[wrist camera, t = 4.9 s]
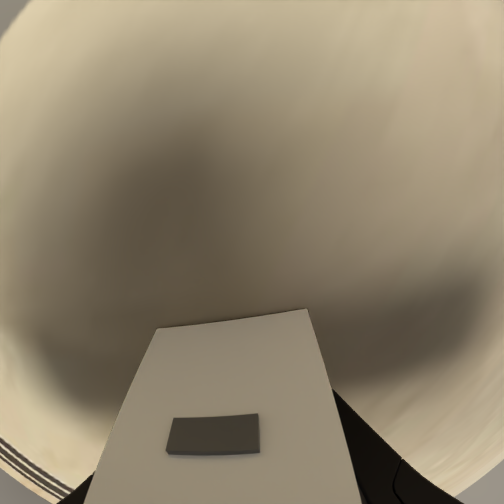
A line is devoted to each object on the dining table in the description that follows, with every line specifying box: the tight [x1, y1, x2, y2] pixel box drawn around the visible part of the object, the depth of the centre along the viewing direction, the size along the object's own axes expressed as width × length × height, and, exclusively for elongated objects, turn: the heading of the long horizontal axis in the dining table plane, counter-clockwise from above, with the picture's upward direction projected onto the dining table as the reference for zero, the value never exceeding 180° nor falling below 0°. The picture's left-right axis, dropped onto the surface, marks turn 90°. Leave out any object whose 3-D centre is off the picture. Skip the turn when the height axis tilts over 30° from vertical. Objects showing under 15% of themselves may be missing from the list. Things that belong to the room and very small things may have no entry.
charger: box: [84, 308, 362, 504], centre depth 7 cm, size 4×9×6 cm, turn 10°
